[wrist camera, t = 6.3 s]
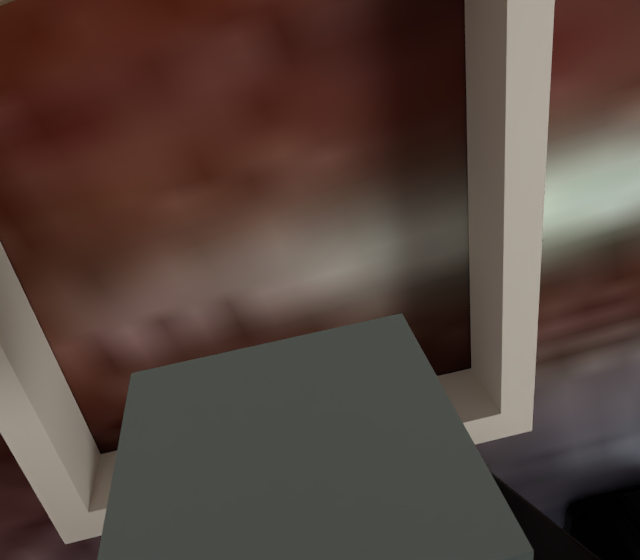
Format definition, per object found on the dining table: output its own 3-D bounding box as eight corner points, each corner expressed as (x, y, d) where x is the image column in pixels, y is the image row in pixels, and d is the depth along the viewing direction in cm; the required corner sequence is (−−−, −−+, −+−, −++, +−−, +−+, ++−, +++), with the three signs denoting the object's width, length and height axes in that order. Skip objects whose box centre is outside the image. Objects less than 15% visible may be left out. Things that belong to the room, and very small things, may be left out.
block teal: (418, 494, 12) (521, 754, 8) (200, 549, 11) (197, 846, 8) (401, 313, 9) (533, 550, 6) (131, 373, 9) (77, 667, 5)
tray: (500, 384, 19) (532, 430, 18) (79, 483, 18) (65, 544, 16) (513, -552, 9) (589, -681, 8) (-408, -457, 8) (-585, -578, 6)
